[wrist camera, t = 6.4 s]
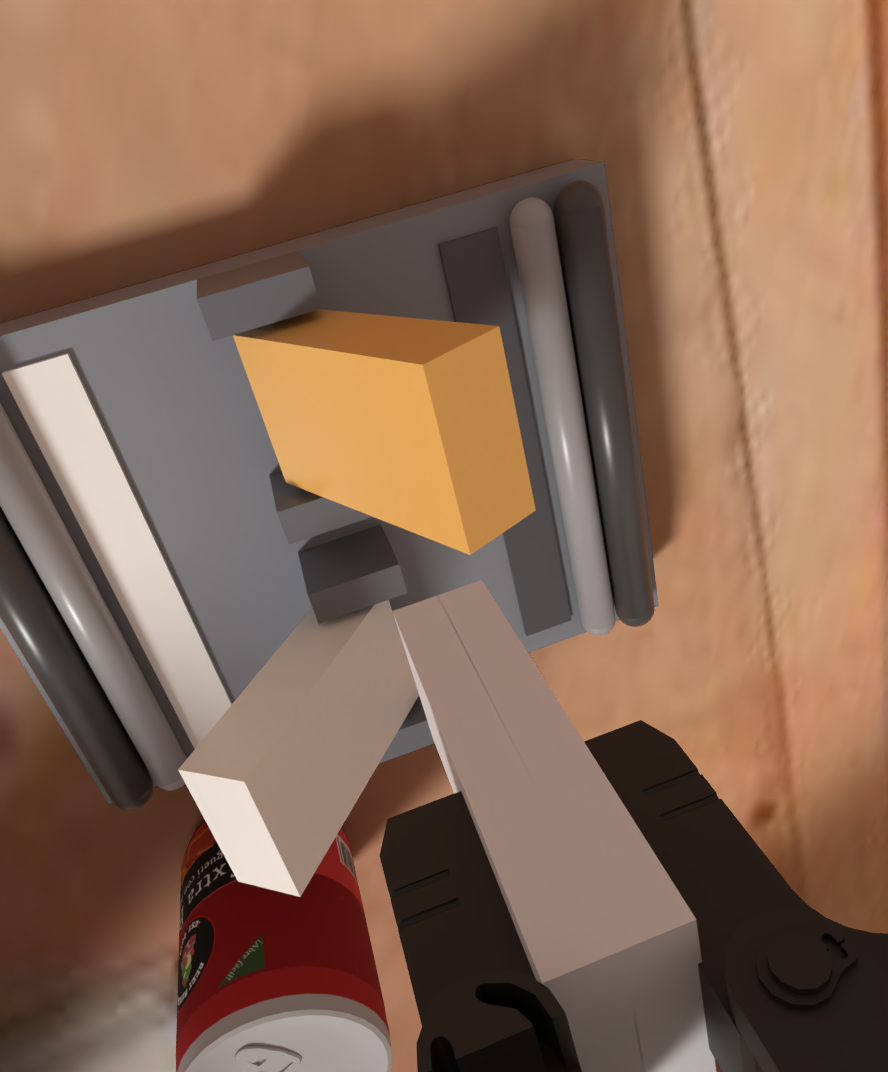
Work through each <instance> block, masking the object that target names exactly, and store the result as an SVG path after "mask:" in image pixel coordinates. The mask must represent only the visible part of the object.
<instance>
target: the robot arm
mask: <svg viewBox="0 0 888 1072" xmlns="http://www.w3.org/2000/svg"><path fill="white" fill-rule="evenodd" d="M393 615H394V618H395V621H396V624H397V627H398V630H399V633H400V637H401V640H402V643H403V646H404V649H405V652H406V655H407V659H408V662H409V665H410V668H411V671H412V674H413V677H414V681H415V684H416V687H417V690H418V693H419V696H420V699H421V703H422V706H423V709H424V712H425V715H426V718H427V721H428V725H429V728H430V731H431V734H432V737H433V740H434V743H435V745H436V748H437V750H438V753H439V756H440V758H441V761H442V763H443V766H444V769H445V771H446V774H447V776H448V779H449V782H450V784H451V787H452V789H453V792H454V794H452V795H449V796H447V797H444V798H441V799H439V800H436V801H433V802H431V803H428V804H426V805H423V806H420V807H418V808H415V809H412V810H410V811H407V812H404V813H402V814H399V815H397V816H394V817H391V818H389V819H388V820H387V824H386V829H385V834H384V838H383V843H382V848H381V852H380V859H381V863H382V867H383V871H384V875H385V879H386V883H387V887H388V891H389V894H390V897H391V903H392V907H393V911H394V915H395V919H396V923H397V926H398V929H399V930H398V931H399V935H400V939H401V943H402V947H403V951H404V955H405V959H406V963H407V967H408V971H409V975H410V979H411V983H412V987H413V991H414V995H415V999H416V1003H417V1007H418V1011H419V1015H420V1019H421V1023H422V1029H421V1032H420V1035H419V1038H418V1041H417V1065H418V1072H716V1065H715V1060H716V1061H717V1063H718V1065H719V1067H720V1068H721V1070H722V1072H888V934H883V933H869V932H865V931H861V930H857V929H852V928H848V927H846V926H844V925H841V924H839V923H837V922H834V921H832V920H830V919H828V918H826V917H824V916H823V915H821V914H820V913H818V912H817V911H815V910H814V909H812V908H811V907H809V906H808V905H807V904H806V903H805V902H804V901H803V900H802V899H801V898H800V897H799V896H798V895H797V894H796V893H795V892H794V891H793V890H792V889H791V887H790V886H789V885H788V884H787V882H786V881H785V880H784V879H783V877H782V876H781V875H780V873H779V872H778V871H777V870H776V868H775V867H774V866H773V865H772V863H771V862H770V861H769V859H768V858H767V857H766V856H765V854H764V853H763V852H762V850H761V849H760V848H759V847H758V845H757V844H756V843H755V842H754V840H753V839H752V838H751V836H750V835H749V834H748V833H747V831H746V830H745V829H744V828H743V826H742V825H741V824H740V822H739V821H738V820H737V819H736V817H735V816H734V815H733V813H732V812H731V811H730V810H729V808H728V807H727V806H726V805H725V803H724V802H723V801H722V799H719V798H718V797H717V794H716V792H715V790H714V789H713V788H712V787H711V785H710V784H709V783H708V782H707V780H706V779H705V778H704V776H703V775H702V774H701V775H700V774H699V772H698V769H697V768H696V766H695V765H694V764H693V762H692V761H691V760H690V759H689V757H688V756H687V755H686V753H685V752H684V751H683V750H682V748H681V747H680V746H679V745H678V743H677V742H676V741H675V740H674V739H673V738H671V737H669V736H667V735H666V734H664V733H662V732H660V731H659V730H657V729H655V728H654V727H652V726H650V725H648V724H647V723H645V722H643V721H641V720H640V721H637V722H635V723H632V724H629V725H627V726H624V727H622V728H619V729H616V730H614V731H611V732H608V733H606V734H603V735H601V736H598V737H595V738H593V739H590V740H587V741H585V742H584V741H583V739H582V738H581V736H580V735H579V733H578V731H577V730H576V728H575V727H574V725H573V723H572V722H571V720H570V719H569V717H568V716H567V714H566V712H565V711H564V709H563V708H562V706H561V705H560V703H559V701H558V700H557V698H556V697H555V695H554V693H553V692H552V690H551V689H550V687H549V686H548V684H547V682H546V681H545V679H544V678H543V676H542V674H541V673H540V671H539V670H538V668H537V667H536V665H535V663H534V662H533V660H532V659H531V657H530V655H529V654H528V652H527V651H526V649H525V648H524V646H523V644H522V643H521V641H520V640H519V638H518V636H517V635H516V633H515V632H514V630H513V629H512V627H511V625H510V624H509V622H508V621H507V619H506V617H505V616H504V614H503V613H502V611H501V610H500V608H499V606H498V605H497V603H496V602H495V600H494V598H493V597H492V595H491V594H490V592H489V591H488V589H487V587H486V586H485V584H484V583H483V581H482V580H480V581H477V582H474V583H472V584H469V585H466V586H463V587H460V588H457V589H454V590H451V591H449V592H446V593H443V594H440V595H437V596H434V597H431V598H428V599H426V600H423V601H420V602H417V603H414V604H411V605H408V606H406V607H403V608H400V609H397V610H394V611H393Z"/></svg>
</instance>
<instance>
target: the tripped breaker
mask: <svg viewBox="0 0 888 1072" xmlns="http://www.w3.org/2000/svg"><path fill="white" fill-rule="evenodd" d="M233 338H234V340H235V343H236V346H237V349H238V351H239V354H240V357H241V360H242V363H243V365H244V368H245V371H246V374H247V376H248V379H249V382H250V385H251V387H252V390H253V393H254V396H255V398H256V401H257V404H258V407H259V410H260V412H261V415H262V418H263V421H264V423H265V426H266V429H267V432H268V434H269V437H270V440H271V443H272V446H273V448H274V451H275V454H276V457H277V459H278V462H279V465H280V468H281V470H282V473H283V476H284V479H285V481H286V483H288V484H291V485H293V486H296V487H299V488H301V489H304V490H306V491H309V492H311V493H314V494H316V495H319V496H321V497H324V498H327V499H329V500H332V501H334V502H337V503H339V504H342V505H344V506H347V507H349V508H352V509H354V510H357V511H360V512H362V513H365V514H367V515H370V516H372V517H375V518H377V519H380V520H382V521H385V522H387V523H390V524H393V525H395V526H398V527H400V528H403V529H405V530H408V531H410V532H413V533H415V534H418V535H420V536H423V537H426V538H428V539H431V540H433V541H436V542H438V543H441V544H443V545H446V546H448V547H451V548H454V549H456V550H459V551H461V552H464V553H466V554H469V555H471V554H473V553H474V552H476V551H477V550H479V549H480V548H482V547H483V546H484V545H486V544H487V543H489V542H490V541H492V540H493V539H495V538H496V537H498V536H499V535H501V534H502V533H504V532H505V531H506V530H508V529H509V528H511V527H512V526H514V525H515V524H517V523H518V522H520V521H521V520H523V519H524V518H525V517H527V516H528V515H530V514H531V513H533V512H534V511H536V509H535V504H534V499H533V494H532V489H531V484H530V479H529V474H528V469H527V464H526V459H525V453H524V448H523V443H522V438H521V433H520V428H519V423H518V418H517V413H516V408H515V403H514V398H513V393H512V388H511V383H510V378H509V373H508V368H507V363H506V358H505V352H504V347H503V342H502V337H501V332H500V327H499V326H493V325H482V324H472V323H461V322H450V321H439V320H429V319H418V318H407V317H396V316H386V315H375V314H364V313H353V312H343V311H332V310H321V309H319V310H315V311H312V312H308V313H305V314H302V315H298V316H295V317H292V318H288V319H285V320H282V321H278V322H275V323H272V324H268V325H265V326H262V327H258V328H255V329H251V330H248V331H245V332H241V333H238V334H235V335H233Z"/></svg>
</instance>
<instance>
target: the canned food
mask: <svg viewBox="0 0 888 1072" xmlns="http://www.w3.org/2000/svg"><path fill="white" fill-rule="evenodd" d="M391 1064H392V1054H391V1042H390V1033H389V1028H388V1024H387V1019H386V1014H385V1007H384V1002H383V997H382V993H381V988H380V983H379V979H378V974H377V969H376V965H375V960H374V955H373V951H372V946H371V942H370V937H369V932H368V928H367V923H366V918H365V914H364V909H363V904H362V900H361V895H360V891H359V886H358V881H357V877H356V872H355V867H354V863H353V858H352V853H351V849H350V845H349V842H348V840H347V837H346V835H345V833H344V832H343V830H342V829H340V830H339V832H338V834H337V836H336V837H335V839H334V841H333V842H332V844H331V846H330V847H329V849H328V851H327V853H326V854H325V856H324V858H323V859H322V861H321V863H320V864H319V866H318V868H317V870H316V871H315V873H314V875H313V876H312V878H311V880H310V881H309V883H308V885H307V887H306V888H305V890H304V892H303V893H302V895H301V897H298V896H294V895H290V894H286V893H282V892H278V891H274V890H270V889H266V888H262V887H258V886H254V885H250V884H246V883H242V882H238V881H237V879H236V877H235V875H234V873H233V871H232V869H231V867H230V866H229V864H228V862H227V860H226V858H225V856H224V854H223V853H222V851H221V849H220V847H219V845H218V843H217V841H216V840H215V838H214V836H213V834H212V832H211V830H210V828H209V826H208V825H207V823H206V821H205V822H204V823H203V824H202V825H201V826H200V827H199V828H198V829H197V831H196V832H195V834H194V836H193V837H192V839H191V841H190V843H189V845H188V848H187V850H186V852H185V855H184V858H183V862H182V865H181V894H180V929H179V965H178V1001H177V1036H176V1072H390V1069H391Z"/></svg>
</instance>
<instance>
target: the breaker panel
mask: <svg viewBox="0 0 888 1072" xmlns="http://www.w3.org/2000/svg"><path fill="white" fill-rule="evenodd" d="M319 309H321V310H332V311H343V312H353V313H364V314H375V315H386V316H396V317H407V318H418V319H429V320H439V321H450V322H461V323H472V324H482V325H493V326H499V327H500V332H501V337H502V342H503V347H504V352H505V358H506V363H507V368H508V373H509V378H510V383H511V388H512V393H513V398H514V403H515V408H516V413H517V418H518V423H519V428H520V433H521V438H522V443H523V448H524V453H525V459H526V464H527V469H528V474H529V479H530V484H531V489H532V494H533V499H534V504H535V509H536V511H534V512H533V513H531V514H530V515H528V516H527V517H525V518H524V519H523V520H521V521H520V522H518V523H517V524H515V525H514V526H512V527H511V528H509V529H508V530H506V531H505V532H504V533H502V534H501V535H499V536H498V537H496V538H495V539H493V540H492V541H490V542H489V543H487V544H486V545H484V546H483V547H482V548H480V549H479V550H477V551H476V552H474V553H473V554H471V555H469V554H466V553H464V552H461V551H459V550H456V549H454V548H451V547H448V546H446V545H443V544H441V543H438V542H436V541H433V540H431V539H428V538H426V537H423V536H420V535H418V534H415V533H413V532H410V531H408V530H405V529H403V528H400V527H398V526H395V525H393V524H390V523H387V522H385V521H382V520H380V519H377V518H375V517H372V516H370V515H367V514H365V513H362V512H360V511H357V510H354V509H352V508H349V507H347V506H344V505H342V504H339V503H337V502H334V501H332V500H329V499H327V498H324V497H321V496H319V495H316V494H314V493H311V492H309V491H306V490H304V489H301V488H299V487H296V486H293V485H291V484H288V483H286V481H285V479H284V476H283V473H282V470H281V468H280V465H279V462H278V459H277V457H276V454H275V451H274V448H273V446H272V443H271V440H270V437H269V434H268V432H267V429H266V426H265V423H264V421H263V418H262V415H261V412H260V410H259V407H258V404H257V401H256V398H255V396H254V393H253V390H252V387H251V385H250V382H249V379H248V376H247V374H246V371H245V368H244V365H243V363H242V360H241V357H240V354H239V351H238V349H237V346H236V343H235V340H234V338H233V335H235V334H238V333H241V332H245V331H248V330H251V329H255V328H258V327H262V326H265V325H268V324H272V323H275V322H278V321H282V320H285V319H288V318H292V317H295V316H298V315H302V314H305V313H308V312H312V311H315V310H319ZM480 580H482V581H483V583H484V584H485V586H486V587H487V589H488V591H489V592H490V594H491V595H492V597H493V598H494V600H495V602H496V603H497V605H498V606H499V608H500V610H501V611H502V613H503V614H504V616H505V617H506V619H507V621H508V622H509V624H510V625H511V627H512V629H513V630H514V632H515V633H516V635H517V636H518V638H519V640H520V641H521V643H522V644H523V646H524V648H525V649H526V651H527V652H528V653H529V652H532V651H535V650H537V649H540V648H543V647H546V646H548V645H551V644H554V643H557V642H560V641H562V640H565V639H568V638H571V637H573V636H576V635H579V634H582V633H584V632H589V633H590V634H592V635H596V636H601V635H605V634H607V633H609V632H610V631H611V630H612V629H613V627H614V625H615V621H618V620H621V621H622V622H623V623H625V624H626V625H629V626H634V627H637V626H642V625H644V624H646V623H647V622H648V621H649V620H650V619H651V618H652V616H653V614H654V607H657V606H659V605H658V597H657V589H656V581H655V573H654V564H653V556H652V548H651V540H650V532H649V524H648V515H647V507H646V499H645V491H644V483H643V475H642V466H641V458H640V450H639V442H638V434H637V426H636V417H635V409H634V401H633V393H632V385H631V377H630V368H629V360H628V352H627V344H626V336H625V327H624V319H623V311H622V303H621V295H620V287H619V278H618V270H617V262H616V254H615V246H614V238H613V229H612V221H611V213H610V205H609V197H608V189H607V180H606V172H605V164H604V162H599V161H590V160H580V159H572V160H569V161H565V162H562V163H558V164H555V165H551V166H548V167H544V168H541V169H537V170H534V171H530V172H527V173H523V174H520V175H516V176H513V177H509V178H506V179H502V180H499V181H495V182H492V183H488V184H485V185H481V186H478V187H474V188H471V189H467V190H464V191H461V192H457V193H454V194H450V195H447V196H443V197H440V198H436V199H433V200H429V201H426V202H422V203H419V204H415V205H412V206H408V207H405V208H401V209H398V210H394V211H391V212H387V213H384V214H380V215H377V216H373V217H370V218H366V219H363V220H359V221H356V222H352V223H349V224H345V225H342V226H338V227H335V228H331V229H328V230H324V231H321V232H318V233H314V234H311V235H307V236H304V237H300V238H297V239H293V240H290V241H286V242H283V243H279V244H276V245H272V246H269V247H265V248H262V249H258V250H255V251H251V252H248V253H244V254H241V255H237V256H234V257H230V258H227V259H223V260H220V261H216V262H213V263H209V264H206V265H202V266H199V267H195V268H192V269H188V270H185V271H182V272H178V273H175V274H171V275H168V276H164V277H161V278H157V279H154V280H150V281H147V282H143V283H140V284H136V285H133V286H129V287H126V288H122V289H119V290H115V291H112V292H108V293H105V294H101V295H98V296H94V297H91V298H87V299H84V300H80V301H77V302H73V303H70V304H66V305H63V306H59V307H56V308H52V309H49V310H45V311H42V312H39V313H35V314H32V315H28V316H25V317H21V318H18V319H14V320H11V321H7V322H4V323H0V628H1V630H2V632H3V633H4V635H5V636H6V638H7V640H8V641H9V643H10V645H11V646H12V648H13V650H14V651H15V653H16V654H17V656H18V658H19V659H20V661H21V663H22V664H23V666H24V667H25V669H26V671H27V672H28V674H29V676H30V677H31V679H32V681H33V682H34V684H35V685H36V687H37V689H38V690H39V692H40V694H41V695H42V697H43V699H44V700H45V702H46V703H47V705H48V707H49V708H50V710H51V712H52V713H53V715H54V717H55V718H56V720H57V721H58V723H59V725H60V726H61V728H62V730H63V731H64V733H65V735H66V736H67V738H68V739H69V741H70V743H71V744H72V746H73V748H74V749H75V751H76V752H77V754H78V756H79V757H80V759H81V761H82V762H83V764H84V766H85V767H86V769H87V770H88V772H89V774H90V775H91V777H92V779H93V780H94V782H95V784H96V785H97V787H98V788H99V790H100V792H101V793H102V795H103V797H104V798H105V800H106V802H107V803H108V804H110V803H114V804H115V805H116V806H117V807H119V808H121V809H124V810H134V809H137V808H139V807H141V806H143V805H144V804H145V803H146V802H147V801H148V800H149V799H150V797H151V795H152V792H153V788H155V787H157V786H159V787H160V788H162V789H164V790H169V791H173V790H177V789H179V788H181V787H182V786H184V785H185V782H184V780H183V778H182V776H181V774H180V772H179V771H178V769H179V768H180V767H181V765H182V764H183V763H184V762H185V761H186V759H187V758H188V757H189V756H190V755H191V753H192V752H193V751H194V750H195V749H196V747H197V746H198V745H199V744H200V743H201V741H202V740H203V739H204V738H205V736H206V735H207V734H208V733H209V732H210V730H211V729H212V728H213V727H214V726H215V724H216V723H217V722H218V721H219V720H220V718H221V717H222V716H223V715H224V713H225V712H226V711H227V710H228V709H229V707H230V706H231V705H232V704H233V703H234V701H235V700H236V699H237V698H238V697H239V695H240V694H241V693H242V692H243V691H244V689H245V688H246V687H247V686H248V684H249V683H250V682H251V681H252V680H253V678H254V677H255V676H256V675H257V674H258V672H259V671H260V670H261V669H262V668H263V666H264V665H265V664H266V663H267V661H268V660H269V659H270V658H271V657H272V655H273V654H274V653H275V652H276V651H277V649H278V648H279V647H280V646H281V645H282V643H283V642H284V641H285V640H286V639H287V637H288V636H289V635H290V634H291V632H292V631H293V630H294V629H295V628H296V626H297V625H298V624H299V623H300V622H301V620H302V619H303V618H304V617H305V616H306V614H307V613H308V612H309V611H310V610H311V608H313V611H314V613H315V616H316V619H317V621H318V624H320V623H323V622H326V621H329V620H332V619H334V618H337V617H340V616H343V615H346V614H349V613H352V612H355V611H358V610H361V609H363V608H366V607H369V606H372V605H375V604H378V603H381V602H384V601H387V600H389V603H390V606H391V609H392V612H393V611H394V610H397V609H400V608H403V607H406V606H408V605H411V604H414V603H417V602H420V601H423V600H426V599H428V598H431V597H434V596H437V595H440V594H443V593H446V592H449V591H451V590H454V589H457V588H460V587H463V586H466V585H469V584H472V583H474V582H477V581H480ZM396 625H397V624H396ZM397 628H398V627H397ZM398 631H399V630H398ZM399 634H400V633H399ZM403 647H404V646H403ZM404 650H405V649H404ZM405 653H406V652H405ZM406 656H407V655H406ZM409 666H410V665H409ZM410 669H411V668H410ZM411 672H412V671H411ZM412 675H413V674H412ZM413 678H414V677H413ZM416 688H417V687H416ZM417 691H418V690H417ZM418 694H419V693H418ZM431 744H434V740H433V737H432V734H431V731H430V728H429V725H428V721H427V718H426V715H425V712H424V709H423V706H422V703H421V699H420V696H418V698H417V700H416V701H415V703H414V705H413V706H412V708H411V710H410V711H409V713H408V715H407V717H406V718H405V720H404V722H403V723H402V725H401V727H400V728H399V730H398V732H397V734H396V735H395V737H394V739H393V740H392V742H391V744H390V745H389V747H388V749H387V751H386V752H385V754H384V756H383V757H382V759H381V761H380V762H379V764H380V763H382V762H385V761H388V760H391V759H393V758H396V757H399V756H401V755H404V754H407V753H410V752H412V751H415V750H418V749H420V748H423V747H426V746H428V745H431Z"/></svg>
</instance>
